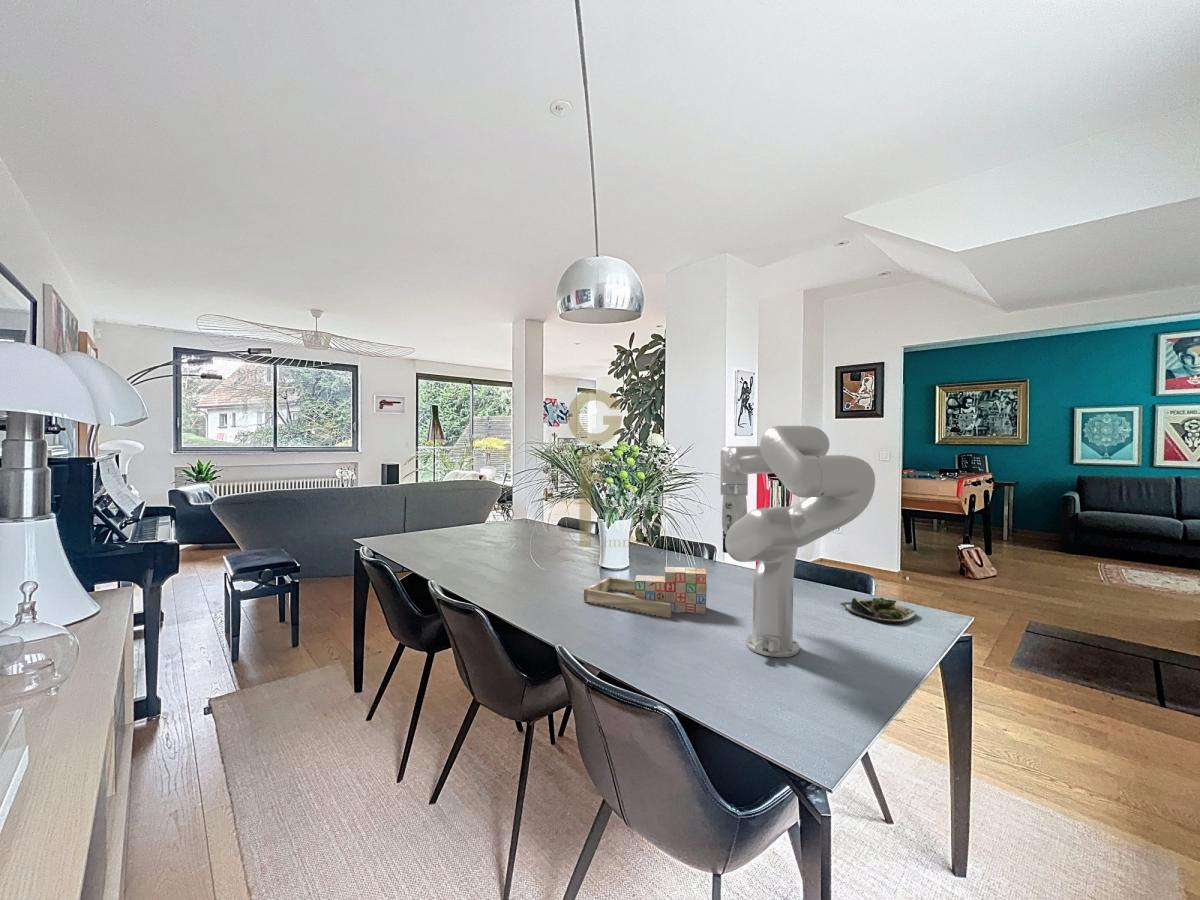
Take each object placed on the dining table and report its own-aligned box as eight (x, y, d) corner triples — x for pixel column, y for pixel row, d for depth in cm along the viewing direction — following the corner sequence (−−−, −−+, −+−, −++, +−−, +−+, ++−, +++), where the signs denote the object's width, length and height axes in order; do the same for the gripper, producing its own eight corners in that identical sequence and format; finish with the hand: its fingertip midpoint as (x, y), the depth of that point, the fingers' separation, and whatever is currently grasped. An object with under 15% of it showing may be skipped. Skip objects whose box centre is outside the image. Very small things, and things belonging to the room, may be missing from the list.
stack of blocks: (634, 610, 156) (634, 570, 156) (636, 604, 162) (636, 565, 162) (706, 614, 153) (706, 573, 152) (705, 607, 159) (705, 567, 158)
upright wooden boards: (669, 618, 149) (669, 604, 149) (583, 602, 164) (583, 589, 164) (689, 602, 163) (689, 589, 163) (609, 588, 178) (609, 576, 178)
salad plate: (869, 599, 166) (869, 585, 166) (928, 615, 152) (929, 600, 151) (833, 611, 156) (834, 595, 156) (894, 629, 141) (894, 613, 141)
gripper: (738, 493, 138) (738, 557, 138) (755, 487, 152) (755, 545, 153) (711, 492, 142) (711, 554, 142) (730, 486, 156) (730, 542, 157)
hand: (733, 549), depth 147 cm, fingers open, 9 cm apart
